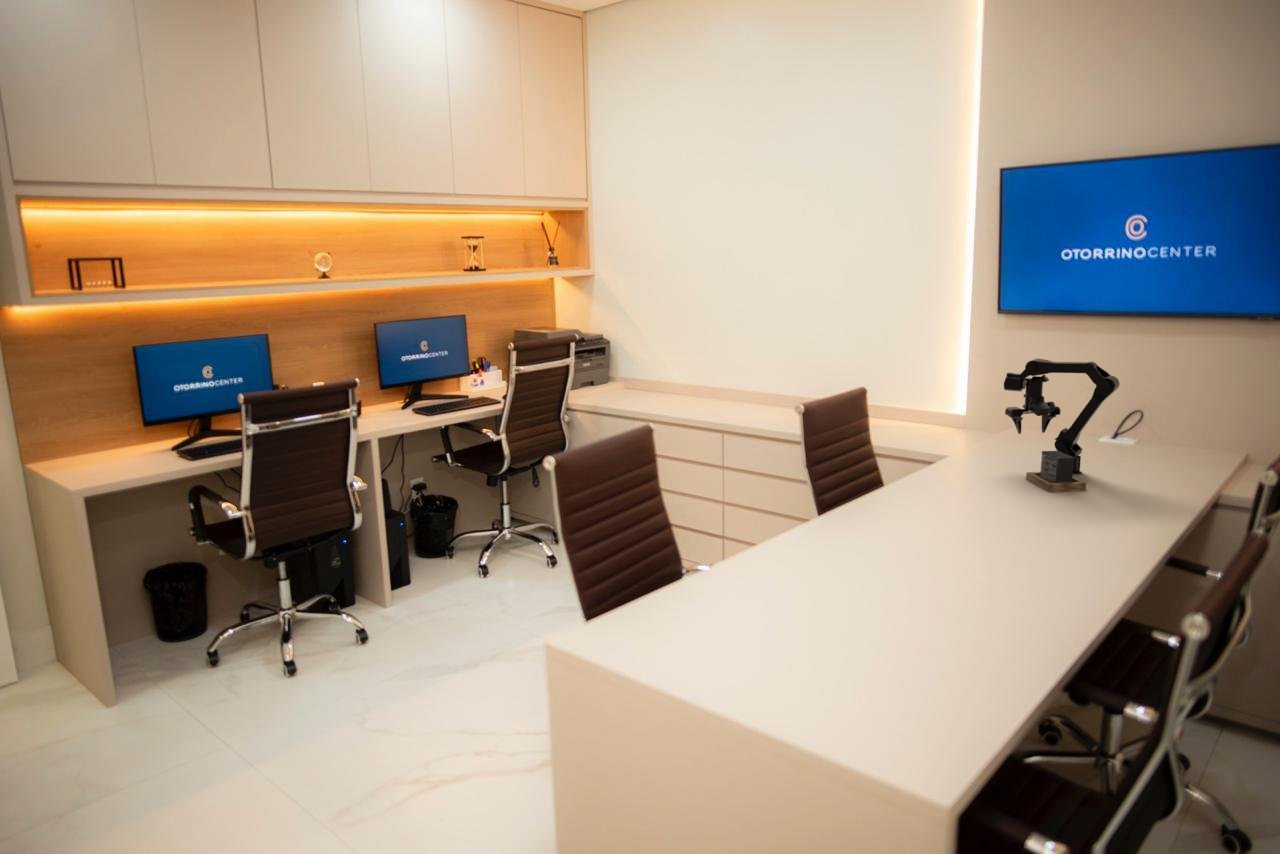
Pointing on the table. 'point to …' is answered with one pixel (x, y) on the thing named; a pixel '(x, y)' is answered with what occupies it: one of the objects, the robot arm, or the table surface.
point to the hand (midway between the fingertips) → (1031, 433)
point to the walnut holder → (1056, 487)
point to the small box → (1056, 467)
